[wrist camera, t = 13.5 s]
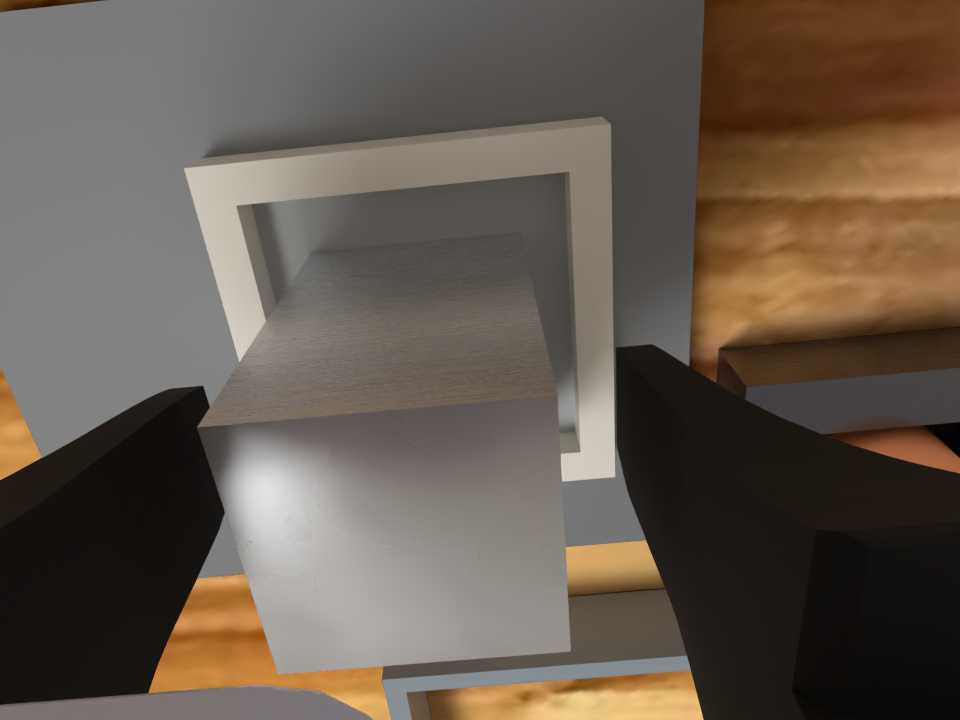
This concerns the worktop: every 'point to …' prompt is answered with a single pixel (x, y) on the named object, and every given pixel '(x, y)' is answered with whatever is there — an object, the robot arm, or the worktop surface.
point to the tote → (594, 653)
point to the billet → (398, 460)
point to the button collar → (854, 381)
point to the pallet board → (339, 189)
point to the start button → (904, 445)
